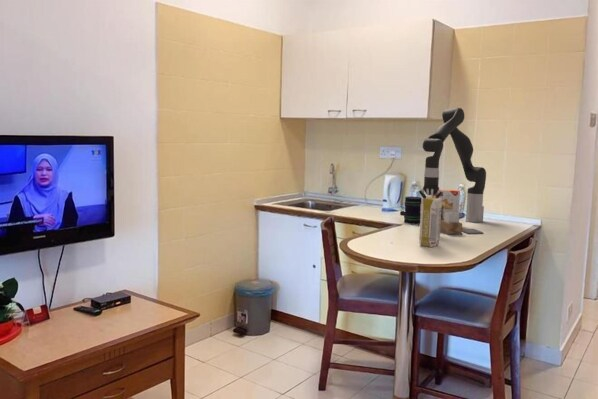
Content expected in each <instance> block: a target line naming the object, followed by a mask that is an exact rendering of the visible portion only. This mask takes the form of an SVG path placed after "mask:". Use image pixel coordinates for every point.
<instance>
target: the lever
mask: <svg viewBox="0 0 598 399" xmlns="http://www.w3.org/2000/svg"><path fill="white" fill-rule="evenodd" d="M441 203H442V207H441V218H443V207H445V202H441ZM420 209H421V207H420Z"/></svg>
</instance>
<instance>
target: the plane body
mask: <svg viewBox="0 0 598 399" xmlns="http://www.w3.org/2000/svg"><path fill="white" fill-rule="evenodd" d="M462 229H463V223H462V222H460V221H459V223H447V222H444V217H443V218H441V225H440V233H442V234H444V235H447V236H458V235H459V236H462V235H463V233H464V232H462Z"/></svg>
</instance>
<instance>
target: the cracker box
mask: <svg viewBox="0 0 598 399" xmlns="http://www.w3.org/2000/svg"><path fill="white" fill-rule="evenodd" d="M439 190H440V191H442V192H443V193H442V195H441V196H440V197H439V198H441V202H445V207H443V217H444V213H445V212H456V213H459V211H460V210H459V209H460V194H461V190H460V189H459V190H458V189H448V188H446V189H445V188H439ZM437 195H438V192H437V193H436V194H435V196H434V198H435V197H436V196H437ZM459 214H460V213H459Z"/></svg>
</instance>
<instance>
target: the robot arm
mask: <svg viewBox="0 0 598 399" xmlns="http://www.w3.org/2000/svg"><path fill="white" fill-rule="evenodd" d="M441 116H442V121H443V124H441V125H440V126H439V127H437V129H436V130H434V133H433V134H431V135H429V136H428V137H426V138H425V139H424V140H423V143H422V149H423V151H424V152H426V153H433V155H430V156H427V157H426V158H425V165H424V166H425V167H424V174H423V176H424V180H423V187H422V189H421V190H420V189H419V191H418V193H419V194H420V196H421V198H422V199H423V198H426V196H432V197H433V198H434V196H435V194H436V193H437V192H438V195H437V196H436V197H435V198H439V197H440V196H441V195H442V193H443V192H442V191H440V190H439V189H440V187H439V180H440V170H439V169H440V168H439V167H440V159H441V156H442V153H443V149H444V142H445V141H446V139H447V138H448V137H449V136H450V137H451V139H452V142H453V145H454V147H455V150H456V151H457V152H456V153H457V154H458V157H459V160H460V163H461V165H462V168H463V173H464V175H465V176H464V177H465V178H466V180H467V181H468V182H470V183H474V185H472V186H471V187H468V188H467V192H466V194H467V196H466V208H465V209H466V210H465V221H466V222H469V223H484V212H485V211H484V210H485V207H484V205H483V203H484V191H485V187H486V180H487V171H486V169H485V167H481V166H474V165H473V162H472V157H473V153H474V147H473V146H474V145H473V144H472V141H471V139H470V137H468V135H467V134H465V133H464V132H463V131H461V130H460V129H459V128H458V127H459V126H460V125H461V124H462V123H463V122H464V121H465V112H464V109H463V108H462V107H454V108H448V109H445V110H443V111H442V114H441Z"/></svg>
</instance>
